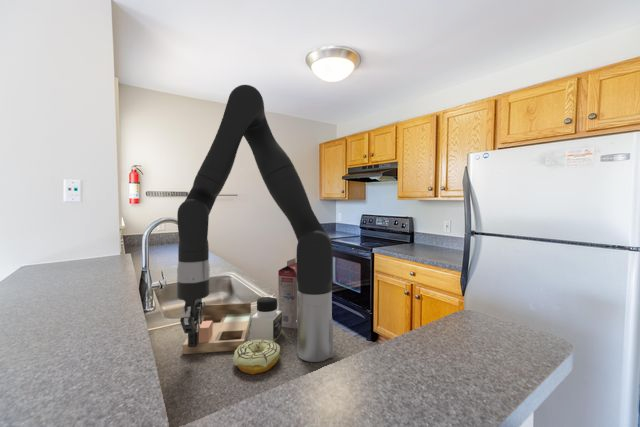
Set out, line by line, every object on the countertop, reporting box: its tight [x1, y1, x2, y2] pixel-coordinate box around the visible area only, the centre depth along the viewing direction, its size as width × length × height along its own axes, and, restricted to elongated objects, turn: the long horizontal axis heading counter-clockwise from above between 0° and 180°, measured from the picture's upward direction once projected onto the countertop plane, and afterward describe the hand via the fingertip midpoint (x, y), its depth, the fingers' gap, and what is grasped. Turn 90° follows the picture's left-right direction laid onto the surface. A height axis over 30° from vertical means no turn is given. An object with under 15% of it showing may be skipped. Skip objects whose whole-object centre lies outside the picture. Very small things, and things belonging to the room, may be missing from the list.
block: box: [199, 321, 213, 343], centre depth 78 cm, size 5×5×4 cm
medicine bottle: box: [250, 295, 283, 343], centre depth 85 cm, size 7×7×12 cm
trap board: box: [182, 302, 252, 355], centre depth 87 cm, size 16×22×6 cm
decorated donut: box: [232, 339, 281, 375], centre depth 71 cm, size 11×12×4 cm
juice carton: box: [277, 257, 298, 330], centre depth 95 cm, size 7×7×22 cm
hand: (193, 345), depth 71 cm, fingers closed
